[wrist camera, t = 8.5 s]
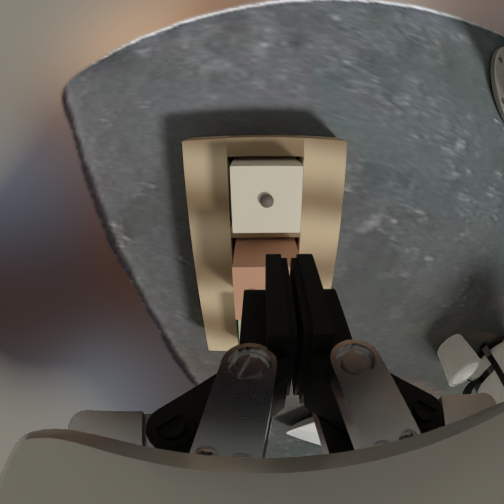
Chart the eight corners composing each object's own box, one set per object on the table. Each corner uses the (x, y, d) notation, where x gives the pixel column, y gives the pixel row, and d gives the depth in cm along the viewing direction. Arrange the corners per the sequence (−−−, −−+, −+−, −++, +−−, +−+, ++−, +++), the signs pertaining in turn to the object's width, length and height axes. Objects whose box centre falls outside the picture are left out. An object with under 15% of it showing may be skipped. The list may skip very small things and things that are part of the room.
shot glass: (427, 356, 37) (442, 386, 31) (453, 328, 34) (472, 357, 28) (446, 360, 38) (460, 387, 32) (470, 334, 35) (487, 361, 29)
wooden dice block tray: (190, 137, 22) (181, 141, 20) (336, 137, 22) (347, 140, 20) (211, 332, 33) (208, 350, 31) (315, 331, 33) (319, 348, 30)
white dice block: (234, 156, 23) (229, 167, 19) (293, 156, 23) (303, 166, 18) (236, 211, 26) (232, 234, 21) (292, 210, 25) (300, 233, 21)
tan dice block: (236, 237, 25) (231, 268, 20) (294, 237, 25) (302, 267, 20) (238, 285, 27) (235, 321, 23) (291, 285, 27) (297, 320, 22)
